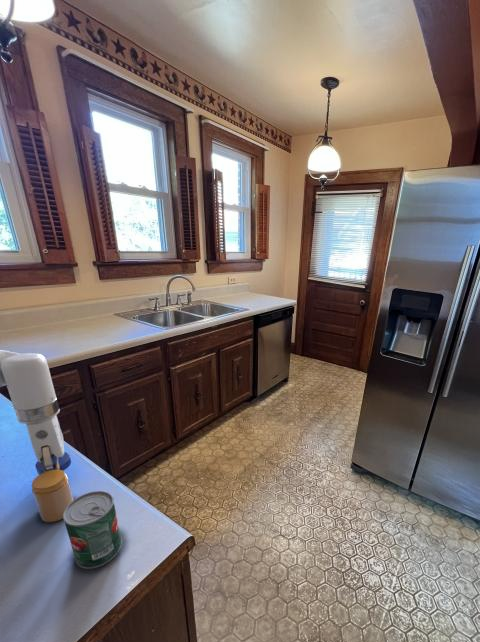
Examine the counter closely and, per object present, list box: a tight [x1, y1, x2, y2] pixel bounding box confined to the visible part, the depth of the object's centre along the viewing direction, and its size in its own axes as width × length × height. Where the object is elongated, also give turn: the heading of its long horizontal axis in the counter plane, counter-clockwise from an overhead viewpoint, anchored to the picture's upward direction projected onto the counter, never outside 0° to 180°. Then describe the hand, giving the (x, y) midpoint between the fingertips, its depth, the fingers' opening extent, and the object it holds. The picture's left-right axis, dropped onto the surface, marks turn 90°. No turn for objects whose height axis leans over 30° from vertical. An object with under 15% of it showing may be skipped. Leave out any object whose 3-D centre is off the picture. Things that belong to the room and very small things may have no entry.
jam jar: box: [31, 469, 75, 523], centre depth 66 cm, size 6×6×9 cm
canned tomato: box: [63, 490, 123, 570], centre depth 58 cm, size 8×8×11 cm
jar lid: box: [34, 451, 72, 475], centre depth 74 cm, size 7×7×2 cm
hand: (56, 472), depth 75 cm, fingers closed on jar lid, 6 cm apart
